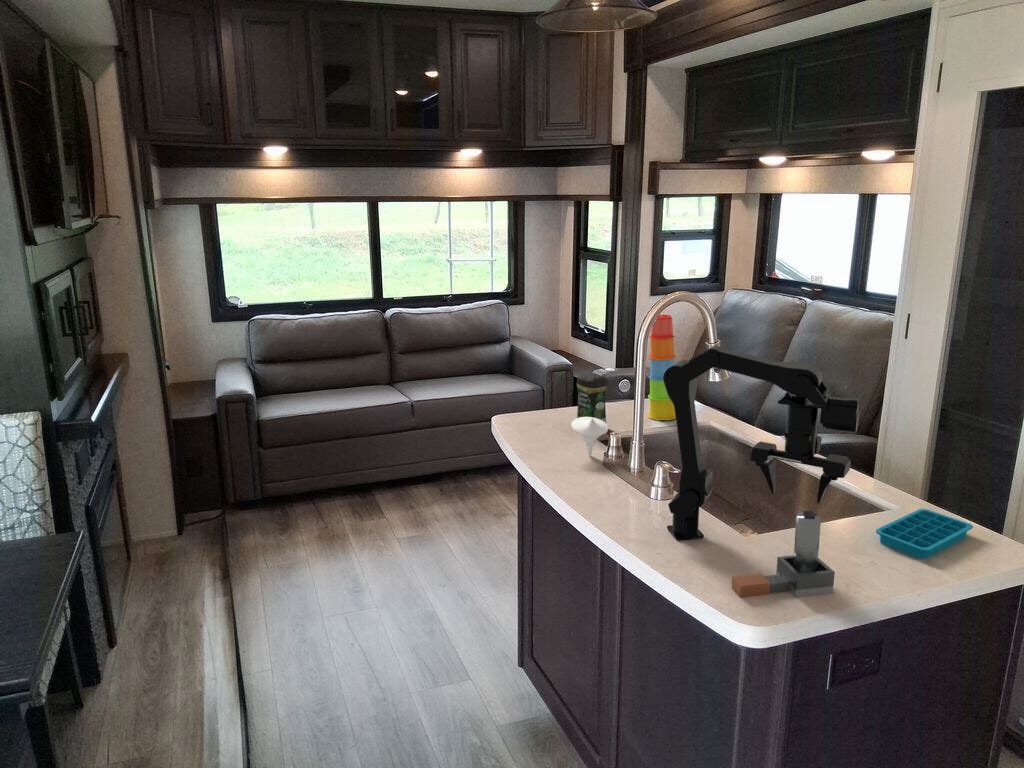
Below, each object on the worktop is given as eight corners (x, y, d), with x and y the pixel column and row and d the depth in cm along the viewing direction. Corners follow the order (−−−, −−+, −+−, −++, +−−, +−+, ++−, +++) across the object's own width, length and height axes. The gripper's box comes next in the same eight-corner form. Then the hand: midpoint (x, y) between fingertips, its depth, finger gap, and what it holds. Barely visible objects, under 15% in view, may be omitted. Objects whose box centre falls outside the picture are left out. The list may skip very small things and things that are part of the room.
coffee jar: (572, 427, 244) (572, 372, 239) (591, 422, 248) (591, 368, 244) (591, 435, 236) (591, 378, 231) (610, 430, 240) (611, 374, 236)
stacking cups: (657, 422, 247) (660, 319, 238) (642, 414, 256) (644, 314, 247) (684, 419, 250) (688, 317, 241) (668, 410, 259) (671, 312, 250)
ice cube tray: (973, 537, 164) (975, 525, 164) (924, 564, 154) (926, 551, 153) (920, 519, 174) (922, 507, 173) (871, 543, 163) (872, 530, 162)
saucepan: (727, 582, 148) (728, 562, 147) (811, 573, 150) (812, 553, 149) (744, 603, 140) (746, 581, 139) (832, 593, 143) (834, 571, 142)
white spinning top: (614, 458, 216) (615, 419, 213) (581, 464, 212) (581, 424, 209) (597, 447, 225) (597, 409, 222) (565, 452, 221) (565, 414, 218)
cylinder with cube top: (790, 571, 148) (794, 507, 145) (813, 573, 148) (818, 508, 144) (794, 582, 144) (799, 517, 141) (818, 584, 143) (823, 518, 140)
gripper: (859, 423, 152) (852, 494, 156) (767, 409, 163) (763, 476, 167) (847, 438, 143) (839, 513, 147) (750, 422, 154) (746, 493, 158)
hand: (795, 497), depth 155 cm, fingers open, 9 cm apart
